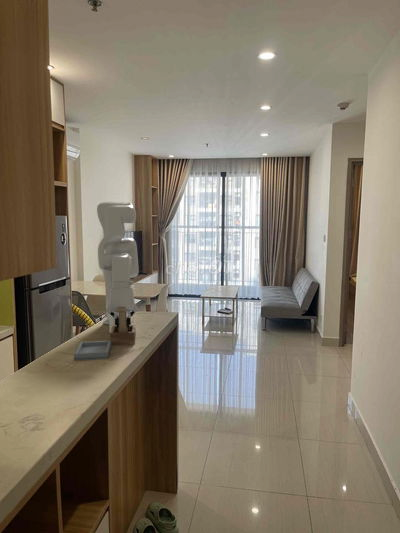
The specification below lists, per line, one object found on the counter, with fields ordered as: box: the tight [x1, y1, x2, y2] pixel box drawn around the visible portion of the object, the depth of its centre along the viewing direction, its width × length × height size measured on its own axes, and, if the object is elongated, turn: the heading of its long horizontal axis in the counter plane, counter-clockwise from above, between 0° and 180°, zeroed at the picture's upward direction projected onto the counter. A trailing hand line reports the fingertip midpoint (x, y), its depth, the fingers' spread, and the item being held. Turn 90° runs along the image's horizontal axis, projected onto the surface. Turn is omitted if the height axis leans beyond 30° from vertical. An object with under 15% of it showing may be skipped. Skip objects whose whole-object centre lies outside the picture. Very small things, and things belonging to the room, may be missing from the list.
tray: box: [73, 340, 112, 361], centre depth 152 cm, size 14×12×2 cm
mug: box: [108, 310, 135, 334], centre depth 179 cm, size 12×8×12 cm
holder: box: [109, 324, 137, 346], centre depth 167 cm, size 11×10×5 cm
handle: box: [117, 307, 128, 332], centre depth 167 cm, size 5×6×15 cm
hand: (123, 326), depth 167 cm, fingers closed on handle, 3 cm apart
